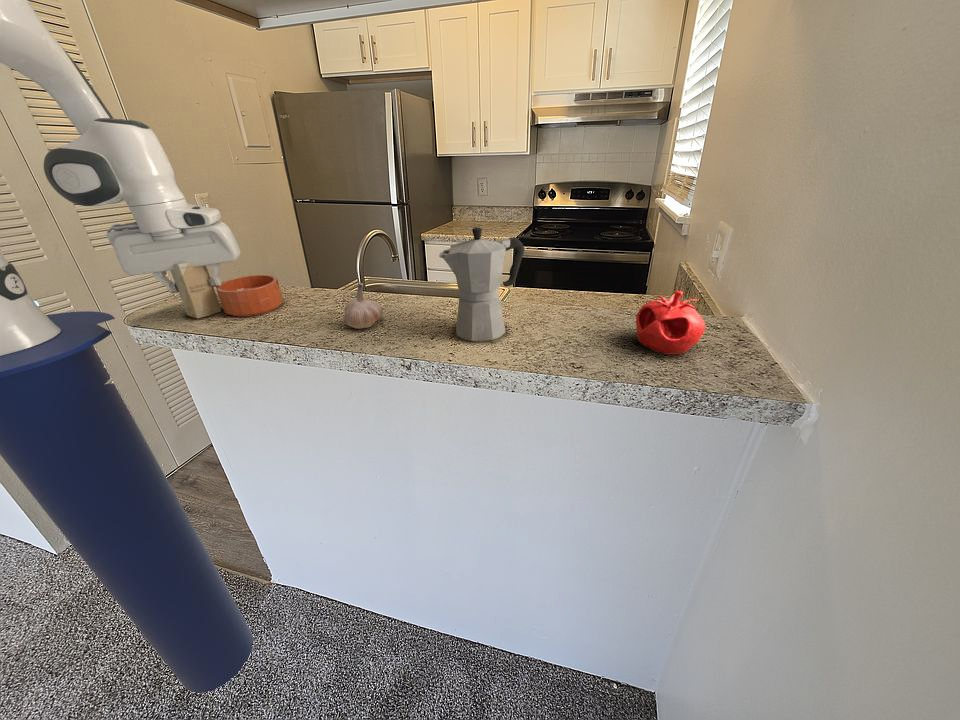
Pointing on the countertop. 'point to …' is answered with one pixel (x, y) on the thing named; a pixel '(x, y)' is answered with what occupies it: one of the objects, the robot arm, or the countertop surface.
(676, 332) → the pomegranate
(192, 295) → the box
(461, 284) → the coffeepot
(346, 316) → the garlic bulb
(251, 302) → the bowl
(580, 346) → the countertop surface
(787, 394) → the countertop surface
